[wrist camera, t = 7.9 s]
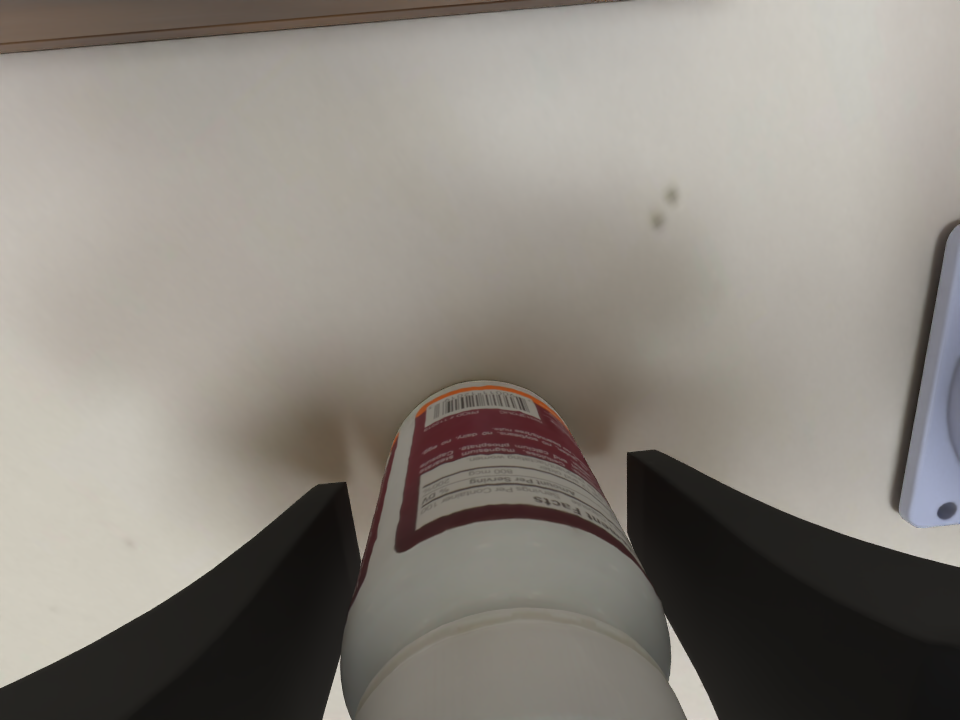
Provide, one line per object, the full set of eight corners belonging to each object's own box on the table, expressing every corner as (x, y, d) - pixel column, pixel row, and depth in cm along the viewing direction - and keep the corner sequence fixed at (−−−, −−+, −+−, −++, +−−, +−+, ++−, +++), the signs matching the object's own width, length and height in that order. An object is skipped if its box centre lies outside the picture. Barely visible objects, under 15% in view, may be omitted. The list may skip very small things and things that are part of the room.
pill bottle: (497, 571, 14) (558, 1065, 6) (352, 479, 13) (187, 930, 5) (614, 446, 13) (871, 833, 5) (467, 336, 12) (496, 602, 4)
